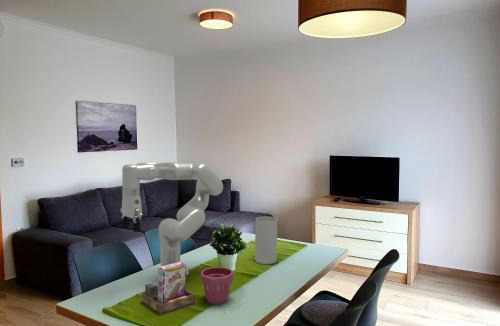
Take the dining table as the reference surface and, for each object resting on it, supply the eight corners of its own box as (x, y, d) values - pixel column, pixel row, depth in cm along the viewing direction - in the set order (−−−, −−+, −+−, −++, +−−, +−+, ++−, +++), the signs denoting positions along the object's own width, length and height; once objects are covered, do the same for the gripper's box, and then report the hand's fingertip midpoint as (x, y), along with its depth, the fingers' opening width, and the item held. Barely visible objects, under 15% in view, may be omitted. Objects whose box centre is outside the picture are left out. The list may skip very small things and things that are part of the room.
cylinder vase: (262, 256, 237) (263, 215, 235) (280, 260, 229) (281, 218, 228) (250, 261, 227) (251, 219, 225) (268, 266, 219) (269, 222, 217)
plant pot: (203, 292, 181) (203, 265, 181) (233, 293, 181) (234, 266, 180) (198, 306, 167) (198, 277, 166) (231, 307, 167) (231, 278, 166)
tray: (175, 292, 182) (175, 275, 181) (195, 303, 170) (195, 285, 169) (141, 302, 170) (141, 284, 170) (159, 315, 158) (159, 296, 158)
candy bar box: (163, 308, 162) (163, 269, 161) (157, 304, 166) (157, 266, 165) (186, 301, 170) (186, 264, 169) (179, 297, 174) (179, 261, 172)
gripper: (148, 193, 173) (148, 231, 174) (128, 189, 185) (128, 224, 186) (133, 195, 168) (133, 234, 169) (113, 190, 180) (114, 227, 181)
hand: (131, 229), depth 178 cm, fingers open, 9 cm apart
